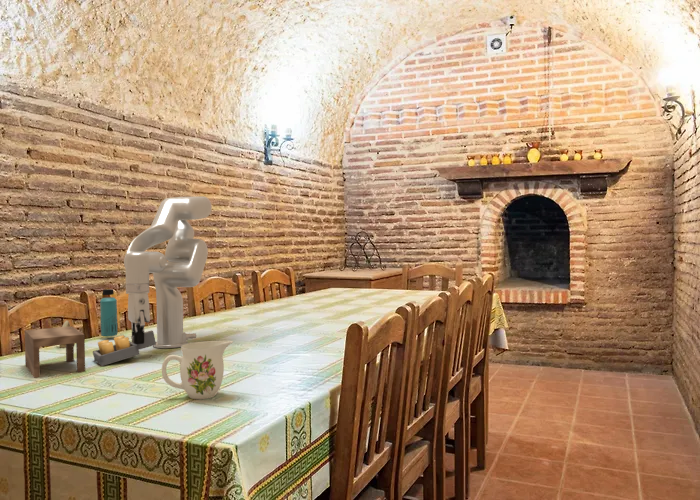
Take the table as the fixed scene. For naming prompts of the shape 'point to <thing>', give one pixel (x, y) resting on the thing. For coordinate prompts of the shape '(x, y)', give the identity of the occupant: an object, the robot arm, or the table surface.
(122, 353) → the tray
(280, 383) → the table surface
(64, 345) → the chocolate bunny
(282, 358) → the table surface
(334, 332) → the table surface
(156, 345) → the robot arm
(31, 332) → the brown wooden footstool
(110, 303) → the beverage bottle
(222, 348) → the pitcher
